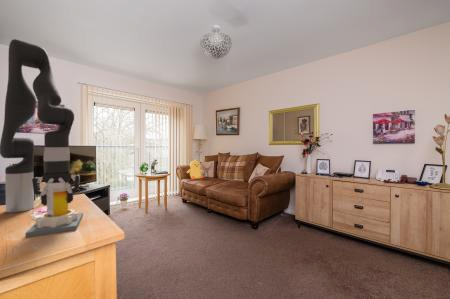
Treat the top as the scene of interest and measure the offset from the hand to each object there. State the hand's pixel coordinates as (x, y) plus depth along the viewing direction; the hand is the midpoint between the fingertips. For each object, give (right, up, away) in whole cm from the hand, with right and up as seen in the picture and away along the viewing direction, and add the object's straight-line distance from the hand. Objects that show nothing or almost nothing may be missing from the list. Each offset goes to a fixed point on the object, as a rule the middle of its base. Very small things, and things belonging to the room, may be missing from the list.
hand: (57, 203), depth 77 cm
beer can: (0, -7, 0) cm, 7 cm away
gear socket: (0, -8, 0) cm, 8 cm away
